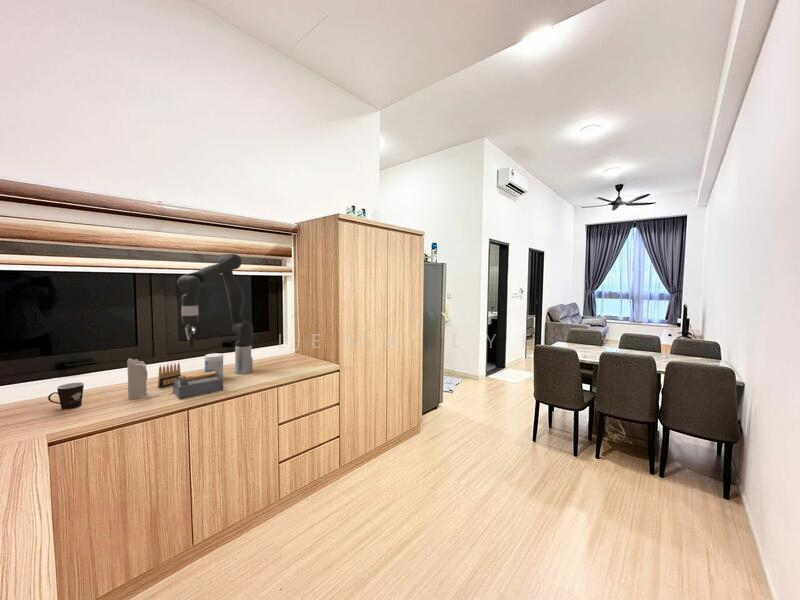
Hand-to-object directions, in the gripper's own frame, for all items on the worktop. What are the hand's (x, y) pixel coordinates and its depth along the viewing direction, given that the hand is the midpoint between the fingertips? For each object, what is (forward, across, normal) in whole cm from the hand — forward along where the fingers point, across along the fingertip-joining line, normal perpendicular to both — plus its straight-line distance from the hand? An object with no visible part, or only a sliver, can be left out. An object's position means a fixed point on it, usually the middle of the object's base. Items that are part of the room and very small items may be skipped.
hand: (191, 346), depth 172 cm
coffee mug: (+23, +11, +47) cm, 53 cm away
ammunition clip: (+24, +17, +6) cm, 30 cm away
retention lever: (+16, -3, -3) cm, 17 cm away
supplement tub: (+24, +13, -14) cm, 31 cm away
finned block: (+24, -3, -2) cm, 24 cm away
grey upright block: (+24, +6, +19) cm, 31 cm away
